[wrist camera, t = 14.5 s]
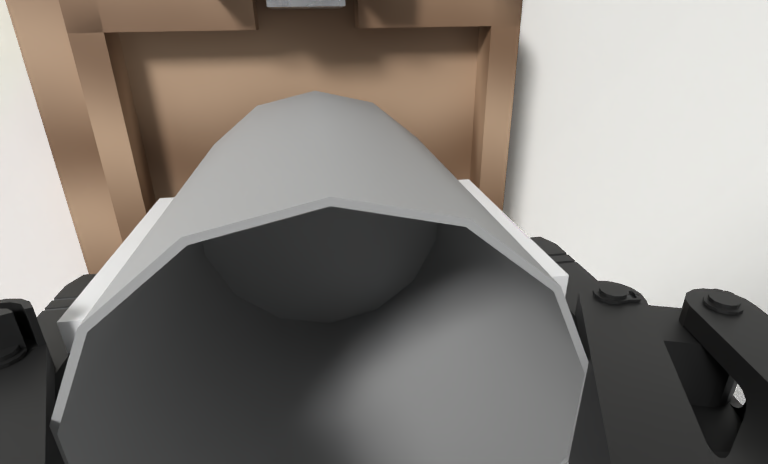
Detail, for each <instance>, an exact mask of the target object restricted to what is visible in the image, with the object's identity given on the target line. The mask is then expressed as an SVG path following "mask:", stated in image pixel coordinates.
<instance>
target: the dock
mask: <svg viewBox="0 0 768 464" xmlns="http://www.w3.org/2000/svg"><path fill="white" fill-rule="evenodd" d="M5 1H6V4H7V8H8V11H9V14H10V17H11V21H12V24H13V27H14V30H15V34H16V37H17V40H18V43H19V47H20V50H21V53H22V57H23V60H24V63H25V66H26V70H27V73H28V76H29V79H30V83H31V86H32V89H33V93H34V96H35V99H36V102H37V106H38V109H39V112H40V115H41V119H42V122H43V125H44V129H45V132H46V135H47V138H48V142H49V145H50V148H51V151H52V155H53V158H54V161H55V165H56V168H57V171H58V174H59V178H60V181H61V184H62V187H63V191H64V194H65V197H66V201H67V204H68V207H69V210H70V214H71V217H72V220H73V223H74V227H75V230H76V233H77V236H78V240H79V243H80V246H81V250H82V253H83V256H84V259H85V263H86V266H87V269H88V272H89V274H97V273H98V272H99V271H100V270H101V268H102V267H103V266H104V265H105V264H106V262H107V261H108V260H109V259H110V257H111V256H112V255H113V254H114V253H115V251H116V250H117V249H118V248H119V247H120V245H121V244H122V243H123V242H124V241H125V239H126V238H127V237H128V236H129V235H130V233H131V232H132V231H133V230H134V229H135V227H136V226H137V225H138V224H139V222H140V221H141V220H142V219H143V218H144V216H145V215H146V214H147V213H148V212H149V210H150V209H151V208H152V207H153V206H154V204H155V203H156V202H157V201H158V200H159V198H172V197H175V196H176V195H177V193H178V192H179V191H180V189H181V188H182V187H183V185H184V184H185V183H186V181H187V180H188V179H189V177H190V176H191V175H192V173H193V172H194V171H195V169H196V168H197V167H198V165H199V164H200V163H201V161H202V160H203V159H204V157H205V156H206V155H207V153H208V152H209V150H210V149H211V148H212V146H213V145H214V144H215V143H216V142H217V141H218V140H220V139H221V138H222V137H223V136H224V135H225V134H226V133H227V132H228V131H230V130H231V129H232V128H233V127H234V126H235V125H236V124H237V123H238V122H239V121H241V120H242V119H243V118H244V117H245V116H246V115H247V114H248V113H249V112H251V111H252V110H253V109H254V108H255V107H256V106H258V105H262V104H266V103H269V102H273V101H277V100H281V99H285V98H289V97H292V96H296V95H300V94H304V93H308V92H312V91H319V92H324V93H329V94H334V95H338V96H343V97H348V98H353V99H358V100H363V101H367V102H372V103H374V104H375V105H376V106H378V107H379V108H380V109H381V110H383V111H384V112H385V113H387V114H388V115H389V116H390V117H392V118H393V119H394V120H395V121H397V122H398V123H399V124H400V125H402V126H403V127H404V128H406V129H407V130H408V131H409V132H411V133H412V134H413V135H414V136H416V137H417V138H418V139H419V140H420V141H421V142H422V143H423V144H424V145H425V147H426V148H427V149H428V150H429V151H430V152H431V153H432V154H433V155H434V156H435V157H436V158H437V159H438V160H439V161H440V162H441V163H442V164H443V165H444V166H445V167H446V168H447V169H448V170H449V171H450V172H451V173H452V174H453V175H454V176H455V178H456V179H457V180H465V179H469V180H470V181H471V182H472V183H473V184H474V185H475V186H476V187H477V188H478V189H479V190H480V191H482V192H483V193H484V194H485V195H486V196H487V197H488V198H489V199H490V200H491V201H492V202H493V203H494V204H495V205H496V206H497V207H498V208H499V209H500V210H501V211H502V212H503V201H504V191H505V180H506V170H507V159H508V149H509V138H510V128H511V117H512V107H513V96H514V85H515V75H516V64H517V54H518V43H519V33H520V22H521V12H522V1H523V0H345V7H342V8H334V9H270V8H268V7H267V2H266V0H5Z"/></svg>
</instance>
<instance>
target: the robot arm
mask: <svg viewBox="0 0 768 464" xmlns="http://www.w3.org/2000/svg"><path fill="white" fill-rule="evenodd" d="M458 181H459V182H460V183H461V184H462V185H463V186H464V187H465V188H466V189H467V190H468V191H469V192H470V193H471V194H472V195H473V196H474V197H475V198H476V199H477V200H478V201H479V202H480V203H481V204H482V205H483V206H484V207H485V208H486V210H487V211H488V212H489V213H490V214H491V215H492V216H493V217H494V218H495V219H496V220H497V221H498V222H499V223H500V224H501V225H502V226H503V227H504V228H505V229H506V230H507V231H508V232H509V233H510V234H511V235H512V236H513V237H514V238H515V239H516V240H517V242H518V243H519V244H520V245H521V246H522V247H523V248H524V249H525V250H526V251H527V252H528V253H529V254H530V255H531V256H532V257H533V258H534V259H535V260H536V261H537V262H538V263H539V264H540V265H541V266H542V267H543V268H544V269H545V270H546V271H547V272H548V274H549V275H550V276H551V277H552V278H553V279H554V280H555V281H556V282H557V283H558V284H559V285H560V286H561V288H562V291H563V293H564V296H565V299H566V302H567V304H568V307H569V310H570V313H571V315H572V318H573V321H574V324H575V326H576V329H577V332H578V335H579V337H580V340H581V343H582V345H583V348H584V351H585V354H586V356H587V359H588V362H589V363H588V368H587V373H586V377H585V382H584V387H583V392H582V397H581V402H580V407H579V412H578V416H577V421H576V426H575V431H574V436H573V441H572V446H571V451H570V456H569V464H768V315H767V314H766V313H765V312H763V311H762V310H761V309H759V308H758V307H757V306H756V305H754V304H753V303H751V302H749V301H748V300H746V299H744V298H742V297H739V296H737V295H735V294H733V293H731V292H728V291H723V290H719V289H704V288H703V289H694V290H691V291H689V292H687V293H686V296H685V300H684V303H683V306H682V308H673V307H661V306H651V305H648V303H647V301H646V300H645V298H644V297H643V296H642V295H641V294H640V293H639V292H637V291H636V290H634V289H632V288H630V287H628V286H625V285H622V284H619V283H614V282H609V281H597V280H596V279H595V278H594V277H593V276H592V275H591V274H589V273H588V272H587V271H586V270H585V269H584V268H583V267H582V266H580V265H579V264H578V263H577V262H575V260H574V259H572V258H571V257H570V256H569V255H566V252H565V251H563V250H562V249H561V248H560V247H559V246H558V245H557V244H555V243H553V242H551V241H548V240H546V239H544V238H542V237H531V238H529V237H528V236H527V235H526V234H525V233H524V232H523V231H522V230H521V229H520V228H519V227H518V226H517V225H516V224H515V223H514V222H513V221H512V220H511V219H510V218H509V217H508V216H507V215H505V214H504V213H503V212H502V211H501V210H500V209H499V208H498V207H497V206H496V205H495V204H494V203H493V202H492V201H491V200H490V199H489V198H488V197H487V196H486V195H485V194H484V193H483V192H482V191H480V190H479V189H478V188H477V187H476V186H475V185H474V184H473V183H472V182H471V181H470V180H469V179H465V180H458ZM173 199H174V197H172V198H159V200H158V201H157V202H156V203H155V204H154V206H153V207H152V208H151V209H150V210H149V212H148V213H147V214H146V215H145V216H144V218H143V219H142V220H141V221H140V222H139V224H138V225H137V226H136V227H135V229H134V230H133V231H132V232H131V233H130V235H129V236H128V237H127V238H126V239H125V241H124V242H123V243H122V244H121V245H120V247H119V248H118V249H117V250H116V251H115V253H114V254H113V255H112V256H111V257H110V259H109V260H108V261H107V262H106V264H105V265H104V266H103V267H102V268H101V270H100V271H99V272H98V273H97V274H86V275H83V276H81V277H79V278H78V279H76V280H74V281H73V282H71V283H69V284H68V285H66V286H65V287H64V288H63V289H62V290H61V291H60V292H59V294H58V295H57V296H56V297H55V298H54V301H51V302H50V303H49V305H48V306H47V307H46V308H45V311H42V312H41V313H40V314H39V316H38V317H36V315H35V312H34V309H33V307H32V305H31V303H30V302H29V301H26V300H23V299H3V300H0V464H65V463H64V461H63V458H62V456H61V453H60V451H59V449H58V446H57V444H56V441H55V439H54V436H53V434H52V431H51V429H50V427H49V425H50V422H51V418H52V415H53V411H54V408H55V404H56V401H57V397H58V394H59V390H60V387H61V383H62V380H63V376H64V372H65V369H66V365H67V362H68V358H69V355H70V351H71V348H72V344H73V341H74V337H75V334H76V330H77V328H78V326H79V325H80V324H81V322H82V321H83V320H84V318H85V317H86V316H87V314H88V313H89V312H90V310H91V309H92V308H93V306H94V305H95V303H96V302H97V301H98V299H99V298H100V297H101V295H102V294H103V293H104V291H105V290H106V289H107V287H108V286H109V285H110V283H111V282H112V281H113V279H114V278H115V277H116V275H117V274H118V273H119V271H120V270H121V269H122V267H123V266H124V265H125V263H126V262H127V261H128V259H129V258H130V257H131V255H132V254H133V252H134V251H135V250H136V248H137V247H138V246H139V244H140V243H141V242H142V240H143V239H144V238H145V236H146V235H147V234H148V232H149V231H150V230H151V228H152V227H153V226H154V224H155V223H156V222H157V220H158V219H159V218H160V216H161V215H162V214H163V212H164V211H165V210H166V208H167V207H168V206H169V204H170V203H171V201H172V200H173ZM737 383H738V384H739V386H740V387H741V389H742V390H743V393H744V395H745V398H746V402H745V404H744V405H742V404H740V403H739V402H738V400H737V399H736V398H735V397H734V396H733V394H734V391H735V388H736V385H737Z"/></svg>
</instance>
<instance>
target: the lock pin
mask: <svg viewBox="0 0 768 464" xmlns="http://www.w3.org/2000/svg"><path fill="white" fill-rule="evenodd" d="M266 2H267V7H268V8H270V9H334V8H342V7H345V0H266Z"/></svg>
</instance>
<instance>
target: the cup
mask: <svg viewBox="0 0 768 464" xmlns="http://www.w3.org/2000/svg"><path fill="white" fill-rule="evenodd" d="M588 363H589V362H588V359H587V356H586V354H585V351H584V348H583V345H582V343H581V340H580V337H579V335H578V332H577V329H576V326H575V324H574V321H573V318H572V315H571V313H570V310H569V307H568V304H567V302H566V299H565V296H564V293H563V291H562V288H561V286H560V285H559V284H558V283H557V282H556V281H555V280H554V279H553V278H552V277H551V276H550V275H549V274H548V272H547V271H546V270H545V269H544V268H543V267H542V266H541V265H540V264H539V263H538V262H537V261H536V260H535V259H534V258H533V257H532V256H531V255H530V254H529V253H528V252H527V251H526V250H525V249H524V248H523V247H522V246H521V245H520V244H519V243H518V242H517V240H516V239H515V238H514V237H513V236H512V235H511V234H510V233H509V232H508V231H507V230H506V229H505V228H504V227H503V226H502V225H501V224H500V223H499V222H498V221H497V220H496V219H495V218H494V217H493V216H492V215H491V214H490V213H489V212H488V211H487V210H486V208H485V207H484V206H483V205H482V204H481V203H480V202H479V201H478V200H477V199H476V198H475V197H474V196H473V195H472V194H471V193H470V192H469V191H468V190H467V189H466V188H465V187H464V186H463V185H462V184H461V183H460V182H459V181H458V180H457V179H456V178H455V176H454V175H453V174H452V173H451V172H450V171H449V170H448V169H447V168H446V167H445V166H444V165H443V164H442V163H441V162H440V161H439V160H438V159H437V158H436V157H435V156H434V155H433V154H432V153H431V152H430V151H429V150H428V149H427V148H426V147H425V145H424V144H423V143H422V142H421V141H420V140H419V139H418V138H417V137H416V136H414V135H413V134H412V133H411V132H409V131H408V130H407V129H406V128H404V127H403V126H402V125H400V124H399V123H398V122H397V121H395V120H394V119H393V118H392V117H390V116H389V115H388V114H387V113H385V112H384V111H383V110H381V109H380V108H379V107H378V106H376V105H375V104H374V103H372V102H367V101H363V100H358V99H353V98H348V97H343V96H338V95H334V94H329V93H324V92H319V91H312V92H308V93H304V94H300V95H296V96H292V97H289V98H285V99H281V100H277V101H273V102H269V103H266V104H262V105H258V106H256V107H255V108H254V109H253V110H252V111H251V112H249V113H248V114H247V115H246V116H245V117H244V118H243V119H242V120H241V121H239V122H238V123H237V124H236V125H235V126H234V127H233V128H232V129H231V130H230V131H228V132H227V133H226V134H225V135H224V136H223V137H222V138H221V139H220V140H218V141H217V142H216V143H215V144H214V145H213V146H212V148H211V149H210V150H209V152H208V153H207V155H206V156H205V157H204V159H203V160H202V161H201V163H200V164H199V165H198V167H197V168H196V169H195V171H194V172H193V173H192V175H191V176H190V177H189V179H188V180H187V181H186V183H185V184H184V185H183V187H182V188H181V189H180V191H179V192H178V193H177V195H176V196H175V197H174V199H173V200H172V201H171V203H170V204H169V206H168V207H167V208H166V210H165V211H164V212H163V214H162V215H161V216H160V218H159V219H158V220H157V222H156V223H155V224H154V226H153V227H152V228H151V230H150V231H149V232H148V234H147V235H146V236H145V238H144V239H143V240H142V242H141V243H140V244H139V246H138V247H137V248H136V250H135V251H134V252H133V254H132V255H131V257H130V258H129V259H128V261H127V262H126V263H125V265H124V266H123V267H122V269H121V270H120V271H119V273H118V274H117V275H116V277H115V278H114V279H113V281H112V282H111V283H110V285H109V286H108V287H107V289H106V290H105V291H104V293H103V294H102V295H101V297H100V298H99V299H98V301H97V302H96V303H95V305H94V306H93V308H92V309H91V310H90V312H89V313H88V314H87V316H86V317H85V318H84V320H83V321H82V322H81V324H80V325H79V326H78V328H77V330H76V334H75V337H74V341H73V344H72V348H71V351H70V355H69V358H68V362H67V365H66V369H65V372H64V376H63V380H62V383H61V387H60V390H59V394H58V397H57V401H56V404H55V408H54V411H53V415H52V418H51V422H50V425H49V427H50V429H51V431H52V434H53V436H54V439H55V441H56V444H57V446H58V449H59V451H60V453H61V456H62V458H63V461H64V463H65V464H567V462H568V461H569V456H570V451H571V446H572V441H573V436H574V431H575V426H576V421H577V416H578V412H579V407H580V402H581V397H582V392H583V387H584V382H585V377H586V373H587V368H588Z"/></svg>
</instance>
